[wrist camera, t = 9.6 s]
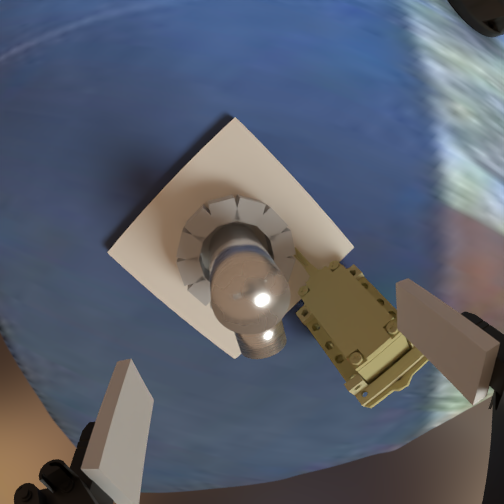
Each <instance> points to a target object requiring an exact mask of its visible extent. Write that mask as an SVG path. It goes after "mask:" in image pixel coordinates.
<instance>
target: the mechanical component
mask: <svg viewBox="0 0 504 504" xmlns="http://www.w3.org/2000/svg"><path fill="white" fill-rule="evenodd" d="M295 252H296V255H294V256H295V258H296V259H297V260H298V261H299V262H300V263H301V264H302V266H303V267H304V268H305V270H306V271H307V273H308V274H309V276H310V277H309V280H308V281H307V282H305V283H306V284H307V285H306V286H302V287H300V288H299V291H298V294H299V296H300V297H301V299H302V300H303V302H304V306H302V307H301V308H300V309H299V310H298V311H297V312H296V314H297V316H298V317H299V319H300V320H301V322H302V323H303V324H304V325H306V326H307V327H308V329H309V330H310V332H311V333H312V334H313V336H314V337H315V339H316V340H317V341H318V343H319V344H320V346H321V347H322V348H323V350H324V351H325V353H326V354H327V355H328V357H329V358H330V360H331V361H332V362H333V364H334V365H335V367H336V368H337V369H338V371H339V372H340V374H341V375H342V376H343V378H344V379H345V381H346V383H345V384H344V385H345V387H346V388H347V390H348V391H349V392H350V393H352V394H353V395H355V396H356V398H357V399H358V400H359V402H360V403H361V405H362V406H364V407H368V408H372V407H374V406H375V405H376V404H378V403H379V402H380V401H382V400H383V399H385V398H386V397H387V396H388V395H390V394H391V393H392V392H393V391H401V390H402V389H404V388H405V387H407V386H408V385H409V384H410V381H411V378H412V376H413V375H414V374H415V373H416V372H417V371H418V370H419V369H420V368H421V367H422V366H423V365H424V364H425V363H426V362H427V361H429V360H428V359H427V358H426V357H425V356H424V355H423V354H422V353H421V352H420V351H419V350H418V349H417V348H416V347H415V346H414V345H413V344H412V343H411V342H410V341H409V340H408V339H407V338H406V337H405V336H404V335H403V334H402V333H401V332H400V331H399V330H398V329H397V310H396V309H395V308H394V307H393V306H392V305H391V304H390V303H389V302H388V301H387V300H386V299H385V298H384V297H383V296H382V294H381V293H380V292H379V291H378V290H377V289H376V288H375V287H374V286H373V285H372V284H371V283H370V282H369V281H368V280H367V279H366V278H365V277H364V275H363V273H362V272H361V271H360V270H359V269H358V268H357V267H356V266H355V265H354V264H353V265H352V266H351V267H350V268H348V269H346V268H345V267H344V266H343V265H341V264H340V263H339V262H338V261H337V260H335V261H332V262H330V263H329V267H326V266H325V267H323V268H322V269H319V270H318V269H317V268H316V267H315V266H313V265H312V264H310V263H309V262H308V260H307V259H306V258H305V257H304V256H303V255H302V254H301V253H300V252H299V251H298V249H297V248H296V247H295ZM319 327H320V329H319ZM369 383H370V384H369ZM364 392H367V393H368V394H367V396H366V397H363V396H362V395H363V393H364Z"/></svg>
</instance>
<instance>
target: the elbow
mask: <svg viewBox="0 0 504 504" xmlns="http://www.w3.org/2000/svg"><path fill="white" fill-rule="evenodd" d="M209 269H210V291H211V306H212V310H213V312H214V315H215V316H216V318H217V320H218V321H219V322H220V323H221V324H222V325H223V326H224V327H226V328H227V329H229V330H231V331H233V332H234V333H235V336H236V339H237V342H238V345H239V348H240V351H241V353H242V355H244V356H245V357H247V358H251V359H262V358H267V357H270V356H272V355H274V354H276V353H278V352H279V351H281V350H282V349H283V348H284V346H285V344H286V336H285V332H284V327H283V323H282V318H283V317H284V315H285V314H286V312H287V310H288V307H289V304H290V288H289V284H288V282H287V280H286V278H285V277H284V275H283V274H282V272H281V271H280V269H279V268H278V266H277V265H276V264H275V262H274V261H273V259H272V258H271V256H270V255H269V253H268V252H267V250H266V249H265V247H264V246H263V245H262V243H261V242H260V240H259V239H258V237H257V236H256V234H255V233H254V232H253V231H252V230H251V229H249V228H248V227H246V226H243V225H240V224H230V225H226V226H224V227H222V228H220V229H219V230H218V231H217V232H216V233H215V234H214V235H213V237H212V238H211V240H210V244H209Z"/></svg>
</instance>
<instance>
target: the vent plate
mask: <svg viewBox="0 0 504 504" xmlns="http://www.w3.org/2000/svg"><path fill="white" fill-rule="evenodd" d="M230 224H240V225H243V226H246V227H248V228H249V229H251V230H252V231H253V232H254V233H255V234H256V236H257V237H258V239H259V240H260V242H261V243H262V245H263V246H264V247H265V249H266V250H267V252H268V253H269V255H270V256H271V258H272V259H273V261H274V262H275V264H276V265H277V266H278V268H279V269H280V271H281V272H282V274H283V275H284V277H285V278H286V280H287V282H288V284H289V288H290V304H289V307H288V310H287V312H288V311H289V310H290V309H291V308H292V307H293V306H294V305H295V304H296V303H298V302H299V301H300V300H301V297H300V296H299V294H298V291H299V288H300V287H302V286H306V285H307V284H306V283H305V282H307V281H308V280H309V277H310V276H309V274H308V273H307V271H306V270H305V268H304V267H303V266H302V264H301V263H300V262H299V261H298V260H297V259H296V258H295V256H294V255H296V252H295V247H296V248H297V249H298V251H299V252H300V253H301V254H302V255H303V256H304V257H305V258H306V259H307V260H308V262H309V263H310V264H312V265H313V266H315V267H316V268H317V269H318V270H319V269H322V268H323V267H325V266H326V267H329V263H330V262H332V261H335V260H337V261H338V262H340V261H341V260H342V259H343V258H344V257H345V256H346V255H347V254H348V253H349V252H350V251H351V250H352V249H353V248H354V246H353V245H352V244H351V243H350V241H349V240H348V239H347V238H346V237H345V236H344V234H343V233H342V232H341V231H340V230H339V228H338V227H337V226H336V225H335V224H334V223H333V221H332V220H331V219H330V218H329V217H328V216H327V214H326V213H325V212H324V211H323V210H322V209H321V208H320V206H319V205H318V204H317V203H316V202H315V201H314V200H313V198H312V197H311V196H310V195H309V194H308V193H307V192H306V191H305V190H304V188H303V187H302V186H301V185H300V184H299V183H298V182H297V181H296V180H295V179H294V177H293V176H292V175H291V174H290V173H289V172H288V171H287V170H286V169H285V168H284V167H283V166H282V164H281V163H280V162H279V161H278V160H277V159H276V158H275V157H274V156H273V155H272V154H271V153H270V152H269V151H268V150H267V149H266V148H265V147H264V146H263V145H262V143H261V142H260V141H259V140H258V139H257V138H256V137H255V136H254V135H253V134H252V133H251V132H250V131H249V130H248V129H247V128H246V127H245V126H244V125H243V124H242V123H241V122H240V121H239V120H238V119H237V118H236V117H235V118H234V119H233V120H232V121H231V122H229V123H228V124H227V125H226V126H225V127H224V128H223V129H222V130H221V131H220V132H219V133H218V134H217V135H216V136H215V137H214V138H213V139H212V140H210V141H209V142H208V143H207V144H206V145H205V146H204V147H203V148H202V149H201V150H200V151H199V152H198V153H197V154H196V155H195V156H194V157H193V158H192V159H191V160H190V161H189V162H188V163H187V164H186V165H185V166H184V167H183V168H182V169H181V170H180V171H179V172H178V174H177V175H176V176H175V177H174V178H173V179H172V180H171V181H170V182H169V183H168V184H167V185H166V186H165V187H164V188H163V189H162V190H161V191H160V193H159V194H158V195H157V196H156V197H155V198H154V199H153V200H152V201H151V202H150V204H149V205H148V206H147V207H146V208H145V209H144V210H143V211H142V212H141V214H140V215H139V216H138V217H137V218H136V219H135V220H134V222H133V223H132V224H131V225H130V226H129V227H128V228H127V230H126V231H125V232H124V233H123V234H122V235H121V237H120V238H119V239H118V240H117V241H116V243H115V244H114V245H113V246H112V247H111V249H110V250H109V251H108V252H107V253H108V254H109V255H110V256H112V257H113V258H114V259H115V260H116V261H117V262H118V263H119V264H120V265H121V266H122V267H123V268H125V269H126V270H127V271H128V272H129V273H130V274H131V275H132V276H133V277H135V278H136V279H137V280H138V281H139V282H140V283H141V284H143V285H144V286H145V287H146V288H147V289H148V290H149V291H151V292H152V293H153V294H154V295H155V296H156V297H158V298H159V299H160V300H161V301H162V302H163V303H165V304H166V305H167V306H168V307H169V308H171V309H172V310H173V311H174V312H175V313H177V314H178V315H179V316H180V317H181V318H183V319H184V320H185V321H186V322H188V323H189V324H190V325H191V326H193V327H194V328H195V329H196V330H198V331H199V332H200V333H201V334H203V335H204V336H205V337H206V338H208V339H209V340H210V341H212V342H213V343H214V344H215V345H217V346H218V347H219V348H221V349H222V350H223V351H225V352H226V353H227V354H229V355H230V356H231V357H233V358H234V359H236V358H237V357H238V356H239V355H240V354H241V351H240V348H239V345H238V342H237V339H236V336H235V333H234V332H233V331H231V330H229V329H227V328H226V327H224V326H223V325H222V324H221V323H220V322H219V321H218V320H217V318H216V316H215V315H214V312H213V310H212V306H211V291H210V269H209V244H210V240H211V238H212V237H213V235H214V234H215V233H216V232H217V231H218V230H219V229H220V228H222V227H224V226H226V225H230ZM287 312H286V313H287Z"/></svg>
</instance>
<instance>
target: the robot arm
mask: <svg viewBox="0 0 504 504" xmlns="http://www.w3.org/2000/svg"><path fill="white" fill-rule="evenodd" d="M449 2H450V3H451V4H452V6H453V7H454V9H455V10H456V11H457V12H458V14H459V15H460V16H461V17H462V18H463V19H464V20H465V21H466V22H467V23H468V24H469V25H470V26H471V27H472V28H474V29H475V30H476V31H478V32H479V33H481V34H483V35H485V36H488V37H496V36H500V35H503V34H504V0H449ZM396 298H397V329H398V330H399V331H400V332H401V333H402V334H403V335H404V336H405V337H406V338H407V339H408V340H409V341H410V342H411V343H412V344H413V345H414V346H415V347H416V348H417V349H418V350H419V351H420V352H421V353H422V354H423V355H424V356H425V357H426V358H427V359H428V360H429V361H430V362H431V363H432V364H433V365H434V366H435V367H436V368H437V369H438V370H439V371H440V372H441V373H442V374H443V375H444V376H445V377H446V378H447V379H448V380H449V381H450V382H451V383H452V384H453V385H454V386H455V387H456V388H457V389H458V390H459V391H460V392H461V393H462V394H463V396H464V397H465V398H466V399H467V400H468V401H469V402H470V403H471V404H472V405H474V404H476V403H477V402H479V401H480V400H482V399H483V398H485V397H486V396H487V392H488V389H489V386H490V387H492V388H493V389H494V393H493V396H492V400H491V403H490V406H489V409H491V407H492V405H493V415H492V433H491V446H490V457H489V464H488V472H487V479H486V485H485V491H484V496H483V501H482V504H504V334H502V333H501V332H499V331H498V330H497V329H495V328H494V327H492V326H491V325H490V326H489V324H488V323H487V322H485V321H483V320H482V319H481V318H479V317H478V316H476V315H475V314H471V313H468V312H463V313H461V314H460V313H458V312H457V311H456V310H454V309H453V308H451V307H450V306H448V305H447V304H445V303H444V302H443V301H441V300H440V299H438V298H437V297H435V296H434V295H432V294H431V293H429V292H428V291H426V290H425V289H423V288H422V287H420V286H419V285H417V284H416V283H414V282H413V281H411V280H410V279H405V280H402V281H400V282H397V283H396ZM153 402H154V400H153V398H152V396H151V394H150V393H149V391H148V389H147V387H146V385H145V384H144V382H143V380H142V378H141V376H140V374H139V373H138V371H137V369H136V367H135V365H134V363H133V361H132V359H127V360H122V361H118V362H117V364H116V367H115V369H114V372H113V375H112V377H111V380H110V383H109V385H108V388H107V391H106V394H105V396H104V399H103V402H102V405H101V408H100V410H99V413H98V416H97V419H96V422H89V423H88V424H87V426H86V427H85V428H84V430H83V431H82V434H81V436H80V439H79V440H80V441H79V442H78V445H77V449H76V451H75V454H74V457H73V460H72V463H71V466H70V468H69V467H68V466H67V465H66V464H65V463H64V462H63V461H62V460H59V459H58V460H52V461H49V462H47V463H46V464H45V465H44V466H43V467H42V468H41V470H40V473H39V480H40V481H41V482H42V483H43V484H44V485H45V486H46V487H47V489H42V490H39V489H38V488H37V487H36V486H35V485H34V484H31V483H25V484H23V485H21V486H20V487H19V488H18V489H17V490H16V492H15V495H14V504H113V501H114V502H115V503H117V504H139V499H140V490H141V482H142V474H143V466H144V459H145V452H146V445H147V439H148V432H149V426H150V420H151V414H152V408H153Z"/></svg>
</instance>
